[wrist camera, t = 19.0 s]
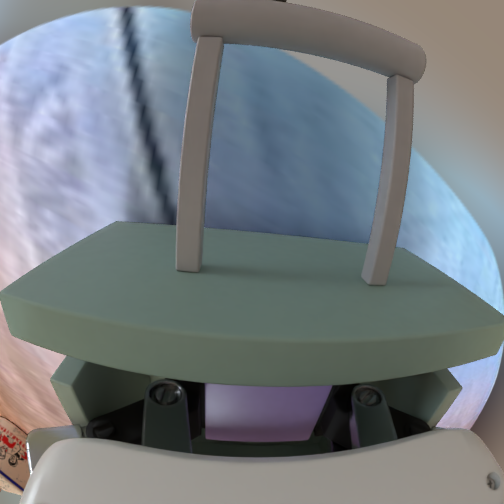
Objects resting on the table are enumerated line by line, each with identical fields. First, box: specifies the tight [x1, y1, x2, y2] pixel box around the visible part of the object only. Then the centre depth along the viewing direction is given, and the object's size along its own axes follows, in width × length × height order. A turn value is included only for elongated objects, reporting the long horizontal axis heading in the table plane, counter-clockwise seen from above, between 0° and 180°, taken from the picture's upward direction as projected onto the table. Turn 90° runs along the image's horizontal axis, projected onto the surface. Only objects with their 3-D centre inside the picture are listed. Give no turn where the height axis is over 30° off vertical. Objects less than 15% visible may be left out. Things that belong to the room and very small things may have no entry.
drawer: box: [0, 0, 504, 457], centre depth 9 cm, size 22×13×7 cm, turn 174°
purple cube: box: [205, 383, 332, 442], centre depth 10 cm, size 4×4×4 cm
